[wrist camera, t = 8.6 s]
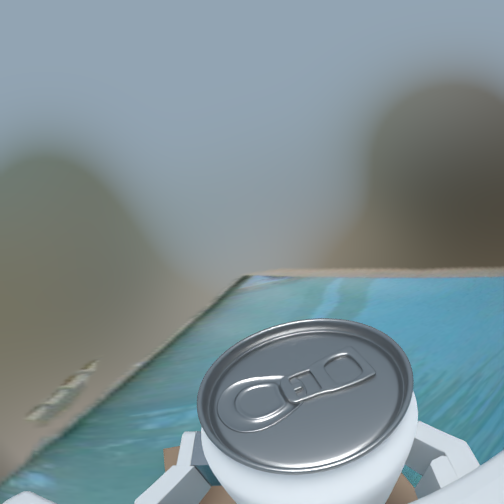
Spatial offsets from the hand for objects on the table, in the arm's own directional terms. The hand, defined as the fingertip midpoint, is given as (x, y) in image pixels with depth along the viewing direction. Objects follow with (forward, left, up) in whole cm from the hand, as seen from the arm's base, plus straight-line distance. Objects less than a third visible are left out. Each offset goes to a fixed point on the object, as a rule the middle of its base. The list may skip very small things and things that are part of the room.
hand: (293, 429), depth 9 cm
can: (0, +1, -8) cm, 9 cm away
